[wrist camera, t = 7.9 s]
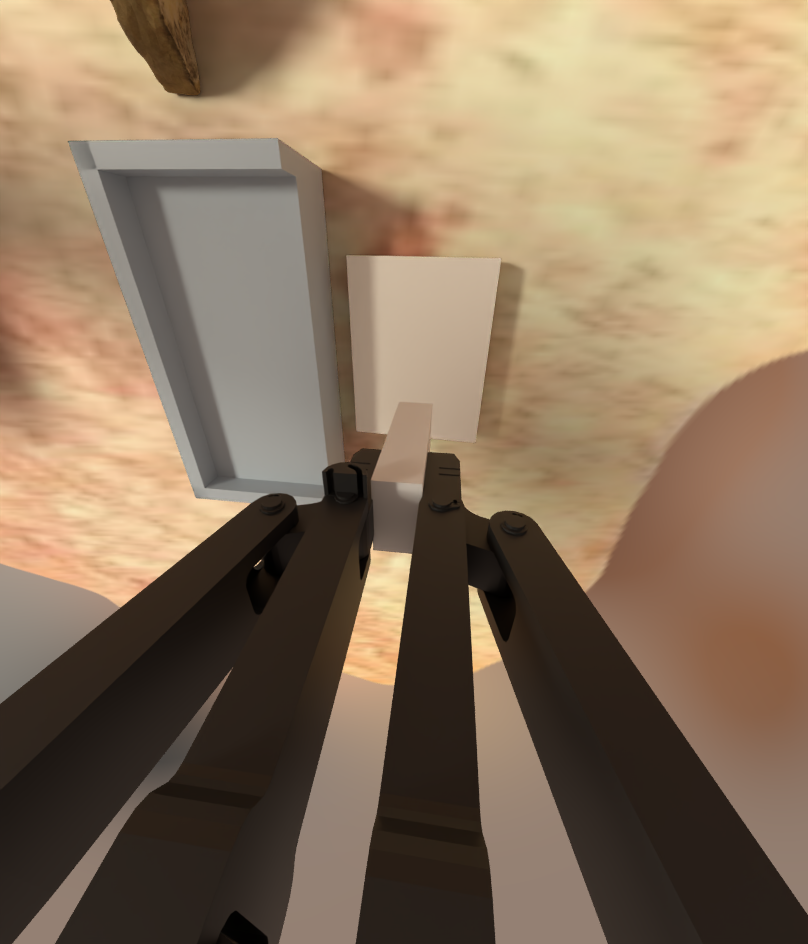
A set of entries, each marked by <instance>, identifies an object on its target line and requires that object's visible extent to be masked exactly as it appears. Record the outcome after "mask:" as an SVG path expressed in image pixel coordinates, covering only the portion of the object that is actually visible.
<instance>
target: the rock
mask: <svg viewBox="0 0 808 944" xmlns="http://www.w3.org/2000/svg"><path fill="white" fill-rule="evenodd" d="M110 1H111V3H112V5H113V7H114V9H115V12H116V15H117V19H118V21H119V23H120V25H121V27H122V29H123V31H124V32H125V34H126V36H127V37H128V39H129V41H130V42H131V44H132V45H133V46H134V48H135V49H136V50H137V52H138V53H139V54H140V55H141V56H142V57H143V58H144V59H145V60H146V62H147V63H148V65H149V66H150V68H151V70H152V72H153V73H154V75H155V77H156V79H157V80H158V81H159V83H161V84H162V85H163V87H164V89H165V90H166V91H167V92H170V93H177V94H186V95H198V94H199V93H200V82H199V74H198V68H197V63H196V58H195V52H194V48H193V45H192V37H191V28H190V23H189V15H188V9H187V6H186V0H110Z"/></svg>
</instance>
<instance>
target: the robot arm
mask: <svg viewBox="0 0 808 944" xmlns="http://www.w3.org/2000/svg"><path fill="white" fill-rule="evenodd" d="M432 406H433V404H431V403H413V402H399V404H398V407H397V409H396V412H395V415H394V418H393V420H392V423H391V426H390V429H389V431H388V434H387V437H386V440H385V442H384V445H383V448H382V450H376V449H361V450H360V451H358V452H357V453H355V454H354V456H353V458H352V460H351V462H340V463H336V464H332V465H330V466H328V467H326V468H325V469H324V470H323V471H322V478H323V486H324V494H325V495H324V497H323V499H322V501H320V502H317V503H312V504H304V505H297V503H296V500H295V499H294V497H293V496H291V495H288V494H284V493H273V494H268V495H265V496H262V497H260V498H258V499H257V500H255V501H254V502H252V503H251V504H250V505H249V506H247V507H246V508H245V509H244V510H242V511H241V512H240V513H239V514H237V515H236V516H235V517H234V518H232V519H231V520H230V521H229V522H227V523H226V524H225V525H224V526H222V527H221V528H220V529H219V530H217V531H216V532H215V533H214V534H212V535H211V536H210V537H209V538H207V539H206V540H205V541H203V542H202V543H201V544H200V545H198V546H197V547H196V548H195V549H193V550H192V551H191V552H190V553H188V554H187V555H186V556H185V557H183V558H182V559H181V560H180V561H178V562H177V563H176V564H175V565H173V566H172V567H171V568H170V569H168V570H167V571H166V572H165V573H163V574H162V575H161V576H160V577H158V578H157V579H156V580H155V581H153V582H152V583H151V584H150V585H148V586H147V587H146V588H145V589H143V590H142V591H141V592H140V593H138V594H137V595H136V596H135V597H133V598H132V599H131V600H130V601H128V602H127V603H126V604H125V605H123V606H122V607H121V608H120V609H118V610H117V611H116V612H115V613H113V614H112V615H111V616H110V617H109V618H107V619H106V620H105V621H103V622H102V623H101V624H100V625H99V626H97V627H96V628H95V629H94V630H92V631H91V632H90V633H89V634H87V635H86V636H85V637H84V638H82V639H81V640H80V641H78V642H77V643H76V644H75V645H74V646H72V647H71V648H70V649H68V651H66V652H65V653H63V654H62V655H61V656H60V657H59V658H57V659H56V660H55V661H53V662H52V663H51V664H50V665H48V666H47V667H46V668H45V669H43V670H42V671H41V672H40V673H38V674H37V675H36V676H35V677H33V678H32V679H31V680H30V681H28V682H27V683H26V684H25V685H23V686H22V687H21V688H20V689H18V690H17V691H16V692H15V693H14V694H12V695H11V696H10V697H8V698H7V699H6V700H5V701H3V702H2V703H1V704H0V944H12V943H13V942H14V941H15V939H16V938H17V937H18V936H19V935H20V934H21V932H22V931H23V930H24V929H25V928H26V926H27V925H28V924H29V923H30V922H31V920H32V919H33V918H34V916H36V914H37V913H38V912H39V911H40V910H41V908H42V907H43V906H44V905H45V904H46V902H47V901H48V900H49V899H50V897H51V896H52V895H53V894H54V892H55V891H56V890H57V889H58V888H59V886H60V885H61V884H62V883H63V881H64V880H65V879H66V877H67V876H68V875H69V874H70V872H71V871H72V870H73V869H74V867H75V866H76V865H77V864H78V862H79V861H80V860H81V859H82V857H83V856H84V855H85V854H86V852H87V851H88V850H89V848H90V847H91V846H92V845H93V843H94V842H95V841H96V840H97V838H98V837H99V836H100V834H101V833H102V832H103V831H104V829H105V828H106V827H107V826H108V824H109V823H110V822H111V821H112V819H113V818H114V817H115V815H116V814H117V813H118V812H119V810H120V809H121V808H122V807H123V805H124V804H125V803H126V801H127V800H128V799H129V798H130V797H131V795H132V794H133V793H134V791H135V790H136V789H137V788H138V786H139V785H140V784H141V782H142V781H143V780H144V779H145V777H146V776H147V775H148V774H149V773H150V771H151V770H152V769H153V767H154V766H155V765H156V764H157V762H158V761H159V760H160V759H161V757H162V756H163V755H164V754H165V752H166V751H167V750H168V748H169V747H170V746H171V744H172V743H173V742H174V741H175V740H176V738H177V737H178V736H179V734H180V733H181V732H182V730H183V729H184V728H185V727H186V726H187V724H188V723H189V722H190V721H191V719H192V718H193V717H194V716H195V714H196V713H197V712H198V710H199V709H200V708H201V707H202V705H203V704H204V703H205V702H206V700H207V699H208V698H209V696H210V695H211V694H212V693H213V692H214V690H215V689H216V688H217V686H218V685H219V684H220V682H221V681H222V680H223V679H224V677H225V676H226V675H227V674H228V673H229V671H230V670H231V669H232V667H233V666H234V667H233V669H232V671H231V672H230V674H229V676H228V678H227V680H226V682H225V684H224V686H223V687H222V689H221V691H220V693H219V695H218V697H217V699H216V701H215V702H214V704H213V706H212V708H211V710H210V712H209V714H208V716H207V717H206V719H205V722H204V723H203V725H202V727H201V729H200V731H199V733H198V734H197V737H196V738H195V740H194V742H193V744H192V746H191V748H190V750H189V751H188V753H187V755H186V757H185V759H184V761H183V763H182V764H181V766H180V767H179V770H178V771H177V772H176V774H175V775H174V776H173V777H172V778H171V779H170V780H169V782H167V783H166V784H164V785H162V786H161V787H159V788H157V789H156V790H154V791H152V792H150V793H149V794H148V795H147V797H145V799H144V800H143V801H142V802H141V803H140V804H139V805H138V806H137V807H136V808H135V810H134V811H133V813H132V814H131V816H130V817H129V819H128V820H127V822H126V823H125V825H124V826H123V828H122V829H121V831H120V832H119V834H118V836H117V837H116V839H115V841H114V843H113V845H112V846H111V848H110V849H109V851H108V853H107V855H106V856H105V858H104V860H103V862H102V863H101V865H100V867H99V869H98V870H97V872H96V874H95V876H94V877H93V879H92V881H91V883H90V884H89V886H88V888H87V889H86V891H85V893H84V895H83V896H82V898H81V900H80V901H79V903H78V905H77V907H76V908H75V910H74V912H73V914H72V915H71V917H70V919H69V921H68V922H67V924H66V926H65V928H64V929H63V931H62V933H61V934H60V936H59V938H58V940H57V941H56V943H55V944H278V943H279V940H280V936H281V932H282V928H283V924H284V920H285V916H286V911H287V907H288V903H289V898H290V893H291V887H292V881H293V872H294V861H295V853H296V847H297V843H298V838H299V834H300V830H301V826H302V823H303V819H304V815H305V811H306V807H307V803H308V800H309V796H310V792H311V788H312V784H313V781H314V777H315V773H316V769H317V765H318V761H319V758H320V754H321V750H322V746H323V742H324V738H325V734H326V731H327V727H328V723H329V719H330V715H331V711H332V708H333V704H334V700H335V696H336V692H337V689H338V684H339V681H340V677H341V673H342V670H343V666H344V662H345V658H346V654H347V650H348V647H349V643H350V639H351V635H352V631H353V627H354V624H355V620H356V616H357V612H358V608H359V604H360V601H361V597H362V593H363V589H364V585H365V581H366V578H367V574H368V570H369V566H370V562H371V556H370V549H371V545H372V542H373V550H379V551H389V552H400V553H410V554H412V559H411V566H410V574H409V581H408V588H407V596H406V603H405V611H404V618H403V626H402V633H401V641H400V648H399V655H398V663H397V670H396V678H395V685H394V693H393V700H392V708H391V715H390V722H389V730H388V737H387V745H386V752H385V760H384V767H383V775H382V782H381V789H380V797H379V804H378V809H377V815H376V819H375V823H374V827H373V831H372V837H371V843H370V848H369V855H368V861H367V868H366V875H365V882H364V890H363V896H362V903H361V910H360V917H359V925H358V932H357V939H356V944H495V929H494V914H493V898H492V887H491V875H490V866H489V859H488V852H487V847H486V844H485V840H484V837H483V833H482V827H481V818H480V803H479V784H478V765H477V764H478V763H477V744H476V724H475V706H474V686H473V666H472V646H471V627H470V607H469V588H468V585H470V586H473V587H475V588H477V591H478V595H479V598H480V601H481V603H482V606H483V609H484V611H485V614H486V617H487V619H488V622H489V625H490V627H491V630H492V633H493V636H494V638H495V641H496V644H497V646H498V649H499V652H500V654H501V657H502V660H503V662H504V665H505V668H506V670H507V673H508V676H509V679H510V681H511V684H512V686H513V689H514V692H515V695H516V697H517V700H518V703H519V706H520V708H521V711H522V714H523V716H524V719H525V721H526V724H527V727H528V730H529V732H530V735H531V738H532V741H533V743H534V746H535V749H536V751H537V754H538V757H539V759H540V762H541V765H542V767H543V770H544V773H545V776H546V778H547V781H548V784H549V786H550V789H551V792H552V794H553V797H554V799H555V802H556V805H557V808H558V810H559V813H560V816H561V819H562V821H563V824H564V826H565V829H566V832H567V835H568V837H569V840H570V843H571V846H572V848H573V851H574V854H575V856H576V859H577V861H578V864H579V867H580V870H581V872H582V875H583V878H584V881H585V883H586V886H587V888H588V891H589V894H590V896H591V899H592V902H593V905H594V907H595V910H596V913H597V915H598V918H599V921H600V924H601V926H602V929H603V932H604V934H605V937H606V940H607V942H608V944H808V915H807V913H806V912H805V910H804V909H803V907H802V906H801V905H800V903H799V902H798V900H797V899H796V897H795V896H794V894H793V893H792V891H791V890H790V889H789V887H788V886H787V884H786V883H785V881H784V880H783V878H782V877H781V876H780V874H779V873H778V871H777V870H776V868H775V867H774V865H773V864H772V863H771V861H770V860H769V858H768V857H767V855H766V854H765V852H764V851H763V850H762V848H761V847H760V845H759V844H758V843H757V841H756V839H755V838H754V837H753V836H752V834H751V832H750V831H749V829H748V828H747V827H746V825H745V824H744V822H743V821H742V819H741V818H740V816H739V815H738V814H737V812H736V811H735V809H734V808H733V806H732V805H731V804H730V802H729V800H728V799H727V798H726V796H725V795H724V793H723V792H722V790H721V789H720V787H719V786H718V785H717V783H716V782H715V780H714V779H713V777H712V776H711V774H710V773H709V772H708V770H707V769H706V767H705V766H704V764H703V763H702V761H701V760H700V759H699V757H698V756H697V754H696V753H695V751H694V750H693V748H692V747H691V746H690V744H689V743H688V741H687V740H686V738H685V737H684V736H683V734H682V732H681V731H680V730H679V728H678V727H677V725H676V724H675V722H674V721H673V720H672V718H671V717H670V715H669V714H668V712H667V711H666V709H665V708H664V706H663V705H662V704H661V702H660V701H659V699H658V698H657V696H656V695H655V694H654V692H653V691H652V689H651V688H650V686H649V685H648V684H647V682H646V681H645V679H644V678H643V676H642V675H641V673H640V672H639V670H638V669H637V668H636V666H635V665H634V663H633V662H632V660H631V659H630V657H629V656H628V654H627V653H626V652H625V650H624V649H623V648H622V646H621V644H620V643H619V642H618V640H617V639H616V637H615V636H614V634H613V633H612V631H611V630H610V628H609V627H608V626H607V624H606V623H605V621H604V620H603V618H602V617H601V615H600V614H599V613H598V611H597V610H596V608H595V607H594V606H593V604H592V602H591V601H590V600H589V598H588V597H587V595H586V594H585V592H584V591H583V589H582V588H581V586H580V585H579V584H578V582H577V581H576V579H575V578H574V576H573V575H572V573H571V572H570V571H569V569H568V568H567V566H566V565H565V563H564V562H563V560H562V559H561V558H560V556H559V555H558V553H557V552H556V550H555V549H554V547H553V546H552V545H551V543H550V542H549V540H548V539H547V537H546V536H545V534H544V533H543V532H542V530H541V529H540V527H539V526H538V524H537V523H536V522H535V521H534V520H533V519H532V518H530V517H528V516H526V515H525V514H522V513H519V512H515V511H502V512H497V513H496V514H494V515H492V516H491V519H486V518H483V517H480V516H478V515H475V514H473V513H471V512H470V511H468V510H467V509H466V508H465V507H464V504H463V502H462V500H461V480H460V461H459V460H458V458H457V457H456V456H455V455H454V454H447V453H433V452H430V437H431V422H432ZM260 560H261V562H260V563H259V564H258V565H257V566H255V565H256V564H257V563H258V562H259V561H260ZM254 566H255V567H254Z"/></svg>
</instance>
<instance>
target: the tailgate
mask: <svg viewBox="0 0 808 944" xmlns="http://www.w3.org/2000/svg"><path fill="white" fill-rule="evenodd" d="M346 258H347V276H348V293H349V310H350V328H351V345H352V363H353V380H354V397H355V415H356V431H358V432H369V433H379V434H388V431H389V429H390V426H391V423H392V420H393V418H394V415H395V412H396V409H397V407H398V404H399V402H413V403H431V404H433V406H432V422H431V437H430V439H440V440H450V441H461V442H471V443H476V436H477V429H478V422H479V415H480V407H481V400H482V393H483V386H484V379H485V372H486V365H487V357H488V350H489V343H490V336H491V329H492V322H493V314H494V307H495V300H496V293H497V286H498V279H499V271H500V264H501V258H469V257H419V256H369V255H346Z"/></svg>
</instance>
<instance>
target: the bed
mask: <svg viewBox="0 0 808 944" xmlns="http://www.w3.org/2000/svg"><path fill="white" fill-rule="evenodd" d="M68 143H69V146H70V149H71V151H72V154H73V157H74V160H75V163H76V165H77V168H78V171H79V174H80V176H81V179H82V182H83V185H84V188H85V190H86V193H87V196H88V199H89V202H90V204H91V207H92V210H93V213H94V215H95V218H96V221H97V224H98V227H99V229H100V232H101V235H102V238H103V241H104V243H105V246H106V249H107V252H108V254H109V257H110V260H111V263H112V266H113V268H114V271H115V274H116V277H117V280H118V282H119V285H120V288H121V291H122V293H123V296H124V299H125V302H126V305H127V307H128V310H129V313H130V316H131V319H132V321H133V324H134V327H135V330H136V332H137V335H138V338H139V341H140V344H141V346H142V349H143V352H144V355H145V358H146V360H147V363H148V366H149V369H150V371H151V374H152V377H153V380H154V383H155V385H156V388H157V391H158V394H159V396H160V399H161V402H162V405H163V408H164V410H165V413H166V416H167V419H168V422H169V424H170V427H171V430H172V433H173V435H174V438H175V441H176V444H177V447H178V449H179V452H180V455H181V458H182V461H183V463H184V466H185V469H186V472H187V474H188V477H189V480H190V483H191V486H192V488H193V491H194V494H195V497H196V498H201V499H212V500H223V501H234V502H245V503H252V502H254V501H255V500H257V499H258V498H260V497H262V496H265V495H268V494H273V493H284V494H288V495H291V496H293V497H294V499H295V500H296V503H297V505H304V504H312V503H317V502H320V501H322V499H323V497H324V495H325V494H324V486H323V478H322V471H323V470H324V469H325V468H326V467H328V466H330V465H332V464H336V463H340V462H345V455H344V443H343V431H342V418H341V406H340V393H339V381H338V368H337V356H336V343H335V331H334V318H333V306H332V294H331V281H330V269H329V256H328V244H327V231H326V219H325V206H324V194H323V181H322V169H321V168H319V167H318V166H317V165H315V164H314V163H312V162H311V161H309V160H308V159H307V158H305V157H304V156H302V155H301V154H299V153H298V152H296V151H295V150H294V149H292V148H291V147H289V146H288V145H286V144H285V143H284V142H282V141H281V140H279V139H278V138H270V139H186V140H101V141H68Z"/></svg>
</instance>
